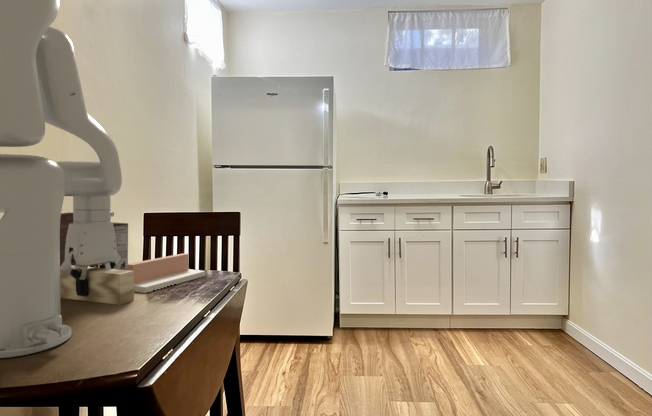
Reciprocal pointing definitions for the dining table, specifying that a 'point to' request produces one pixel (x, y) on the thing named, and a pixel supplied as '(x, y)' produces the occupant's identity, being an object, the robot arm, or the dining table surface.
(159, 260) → the stand
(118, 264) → the coffee box
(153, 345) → the dining table surface
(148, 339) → the dining table surface
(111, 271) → the maple bar
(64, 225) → the candle
